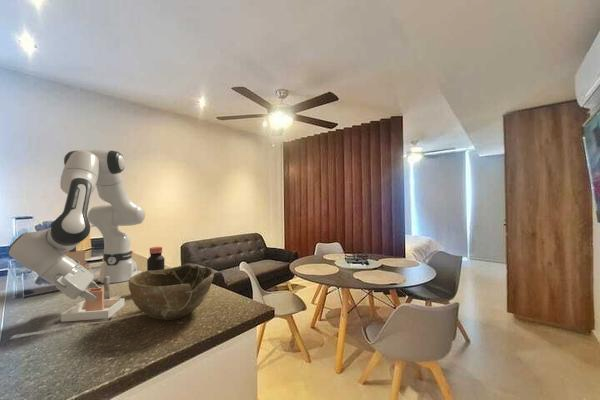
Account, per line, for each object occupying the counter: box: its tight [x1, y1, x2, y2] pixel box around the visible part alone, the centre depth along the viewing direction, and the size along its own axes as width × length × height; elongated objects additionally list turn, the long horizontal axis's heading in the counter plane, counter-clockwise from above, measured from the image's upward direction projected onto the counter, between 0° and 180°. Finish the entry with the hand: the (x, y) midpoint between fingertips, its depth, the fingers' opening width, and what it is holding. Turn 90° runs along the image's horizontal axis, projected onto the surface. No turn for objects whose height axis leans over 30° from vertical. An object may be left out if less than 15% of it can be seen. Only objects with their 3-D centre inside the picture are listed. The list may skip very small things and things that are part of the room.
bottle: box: [146, 246, 166, 271], centre depth 119 cm, size 7×7×20 cm
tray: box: [60, 297, 126, 324], centre depth 95 cm, size 12×14×4 cm
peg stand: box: [103, 276, 122, 300], centre depth 107 cm, size 9×9×10 cm
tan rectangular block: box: [64, 246, 86, 268], centre depth 131 cm, size 13×9×22 cm
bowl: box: [128, 264, 215, 321], centre depth 95 cm, size 28×27×15 cm
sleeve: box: [85, 286, 104, 311], centre depth 95 cm, size 5×5×8 cm
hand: (97, 295), depth 96 cm, fingers open, 8 cm apart
